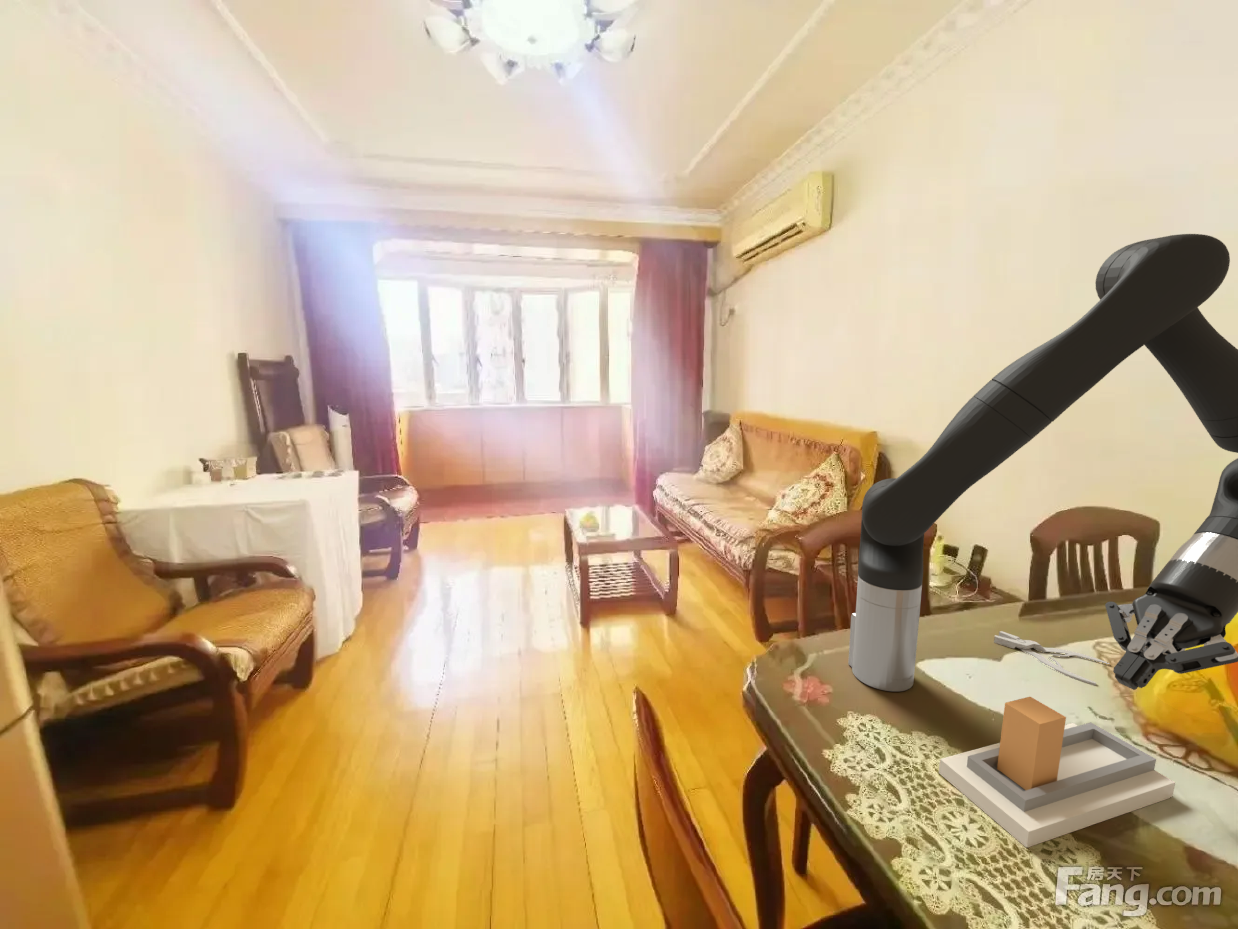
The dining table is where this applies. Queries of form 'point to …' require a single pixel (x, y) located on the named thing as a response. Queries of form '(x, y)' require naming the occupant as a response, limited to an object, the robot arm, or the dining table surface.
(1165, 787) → the switch board
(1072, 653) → the pliers
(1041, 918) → the dining table surface
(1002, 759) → the switch tab
